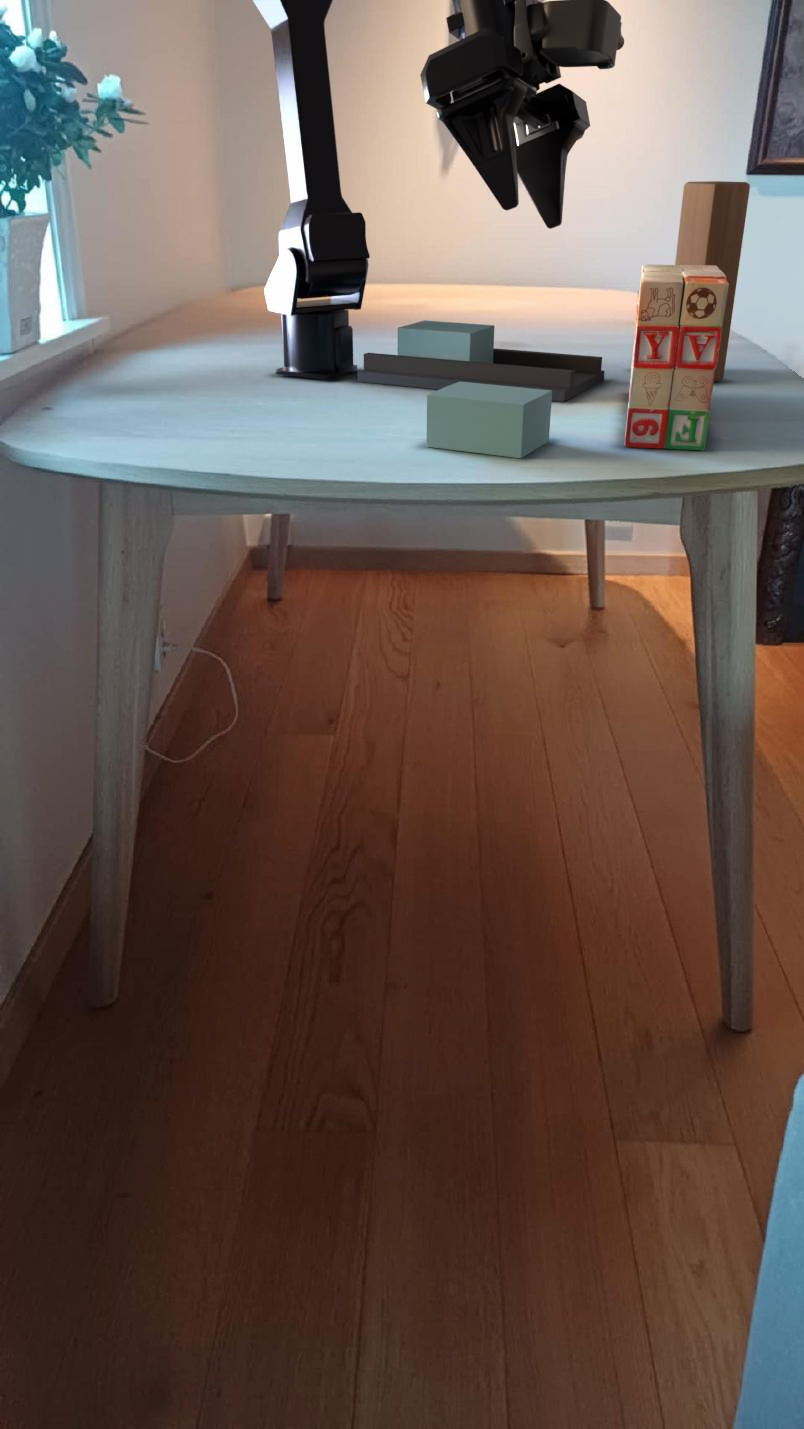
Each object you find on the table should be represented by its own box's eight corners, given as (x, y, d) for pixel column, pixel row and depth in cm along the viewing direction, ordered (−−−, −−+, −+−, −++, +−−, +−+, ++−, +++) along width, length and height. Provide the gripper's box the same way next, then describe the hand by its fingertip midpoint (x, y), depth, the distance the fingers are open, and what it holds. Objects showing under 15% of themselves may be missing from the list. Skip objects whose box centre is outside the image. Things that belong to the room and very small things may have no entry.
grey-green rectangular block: (425, 446, 82) (426, 394, 80) (457, 431, 87) (459, 381, 85) (521, 458, 79) (524, 404, 77) (548, 441, 84) (552, 390, 82)
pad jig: (357, 381, 106) (356, 329, 104) (411, 363, 115) (411, 315, 113) (564, 402, 97) (568, 345, 95) (604, 380, 106) (608, 328, 104)
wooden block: (633, 370, 111) (652, 180, 103) (666, 367, 113) (688, 180, 105) (689, 385, 104) (715, 182, 96) (724, 381, 106) (752, 182, 98)
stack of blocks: (627, 393, 100) (641, 254, 95) (695, 396, 99) (713, 255, 94) (623, 447, 82) (640, 277, 76) (706, 451, 81) (730, 279, 75)
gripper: (550, -114, 65) (598, 152, 67) (633, -11, 80) (669, 200, 83) (395, -29, 70) (445, 213, 73) (502, 51, 86) (539, 247, 89)
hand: (534, 218), depth 79 cm, fingers open, 9 cm apart
